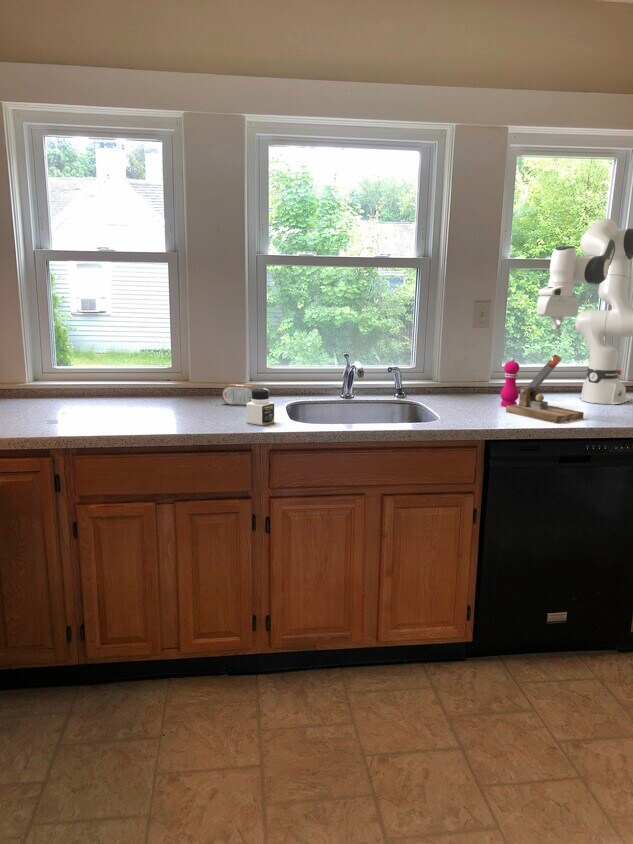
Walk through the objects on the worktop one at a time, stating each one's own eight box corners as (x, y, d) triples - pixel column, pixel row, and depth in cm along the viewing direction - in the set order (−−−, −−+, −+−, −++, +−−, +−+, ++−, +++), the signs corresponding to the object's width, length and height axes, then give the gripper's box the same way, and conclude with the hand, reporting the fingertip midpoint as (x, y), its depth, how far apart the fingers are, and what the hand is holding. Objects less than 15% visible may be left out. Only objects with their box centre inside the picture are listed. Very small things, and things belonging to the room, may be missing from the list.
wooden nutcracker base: (532, 408, 256) (534, 383, 254) (582, 418, 238) (585, 392, 235) (505, 412, 248) (508, 386, 246) (556, 423, 229) (558, 396, 227)
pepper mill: (518, 408, 256) (522, 359, 252) (500, 407, 257) (504, 358, 253) (516, 404, 263) (520, 357, 259) (498, 403, 264) (502, 356, 260)
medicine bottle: (262, 425, 217) (262, 391, 215) (246, 423, 221) (245, 389, 218) (274, 422, 223) (274, 388, 221) (258, 419, 227) (258, 386, 224)
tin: (259, 405, 253) (259, 384, 251) (257, 406, 250) (257, 385, 248) (223, 403, 255) (223, 383, 254) (220, 405, 252) (220, 384, 251)
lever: (524, 399, 247) (520, 393, 249) (530, 398, 249) (525, 392, 251) (557, 360, 233) (552, 354, 235) (562, 360, 235) (557, 354, 237)
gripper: (569, 292, 241) (565, 328, 243) (535, 290, 229) (531, 328, 232) (584, 292, 235) (580, 329, 238) (550, 290, 224) (546, 329, 227)
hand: (556, 329), depth 235 cm, fingers closed
